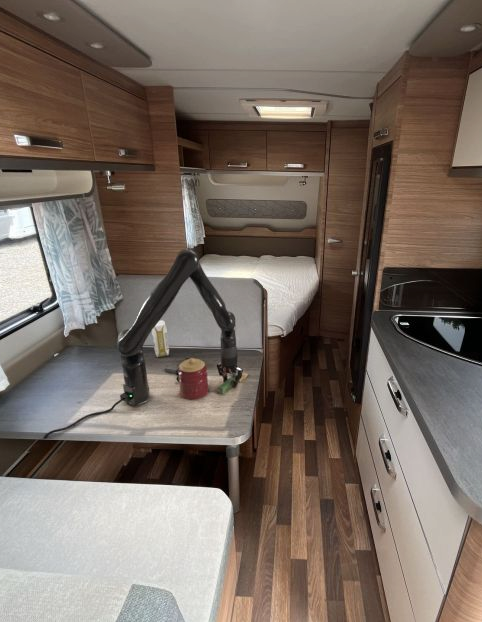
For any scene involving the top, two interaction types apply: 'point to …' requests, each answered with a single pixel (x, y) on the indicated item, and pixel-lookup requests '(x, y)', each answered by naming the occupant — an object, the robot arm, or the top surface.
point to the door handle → (175, 370)
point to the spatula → (230, 383)
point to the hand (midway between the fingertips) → (230, 384)
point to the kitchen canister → (193, 378)
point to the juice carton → (160, 339)
